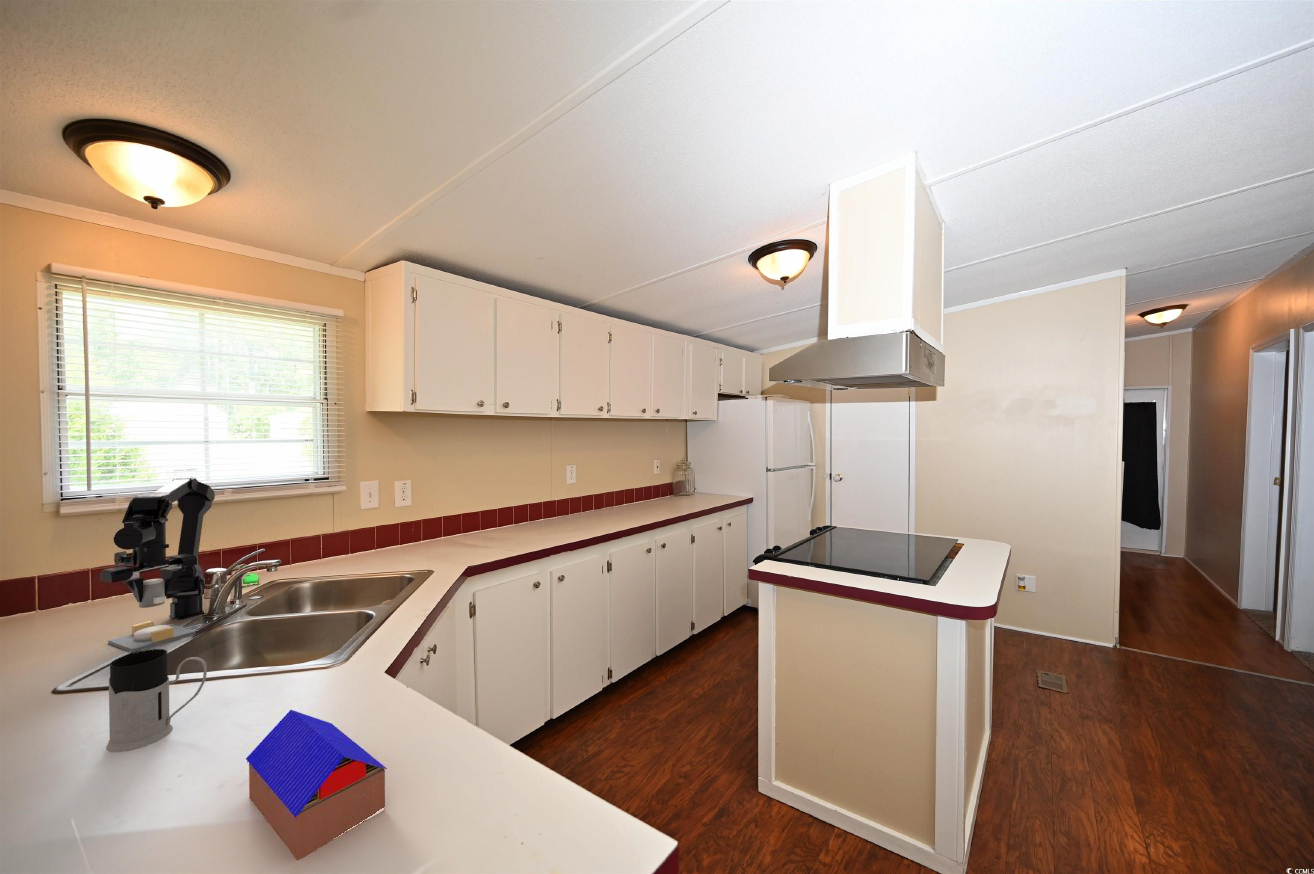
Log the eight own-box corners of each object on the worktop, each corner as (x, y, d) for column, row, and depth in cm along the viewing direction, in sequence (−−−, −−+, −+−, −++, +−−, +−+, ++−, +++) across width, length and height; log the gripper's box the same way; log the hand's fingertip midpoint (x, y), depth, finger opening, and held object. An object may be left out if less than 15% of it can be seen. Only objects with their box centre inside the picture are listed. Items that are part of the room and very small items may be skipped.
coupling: (171, 603, 141) (171, 579, 141) (148, 609, 136) (148, 585, 136) (154, 600, 143) (154, 577, 143) (131, 606, 138) (131, 582, 138)
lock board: (170, 626, 148) (170, 614, 148) (195, 634, 143) (195, 621, 143) (108, 644, 136) (107, 631, 136) (132, 653, 131) (132, 639, 131)
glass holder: (123, 730, 98) (122, 651, 97) (216, 715, 103) (215, 640, 103) (93, 757, 90) (92, 672, 89) (196, 739, 95) (195, 658, 95)
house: (331, 761, 89) (331, 694, 89) (388, 813, 77) (388, 736, 77) (246, 801, 80) (245, 726, 79) (295, 867, 68) (294, 779, 67)
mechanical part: (258, 585, 188) (258, 563, 188) (237, 588, 184) (236, 566, 184) (257, 578, 197) (257, 557, 197) (237, 580, 193) (236, 559, 193)
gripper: (173, 532, 151) (174, 585, 151) (86, 546, 133) (87, 606, 133) (199, 535, 147) (199, 589, 147) (112, 550, 129) (113, 612, 130)
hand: (152, 598), depth 139 cm, fingers closed on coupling, 5 cm apart
